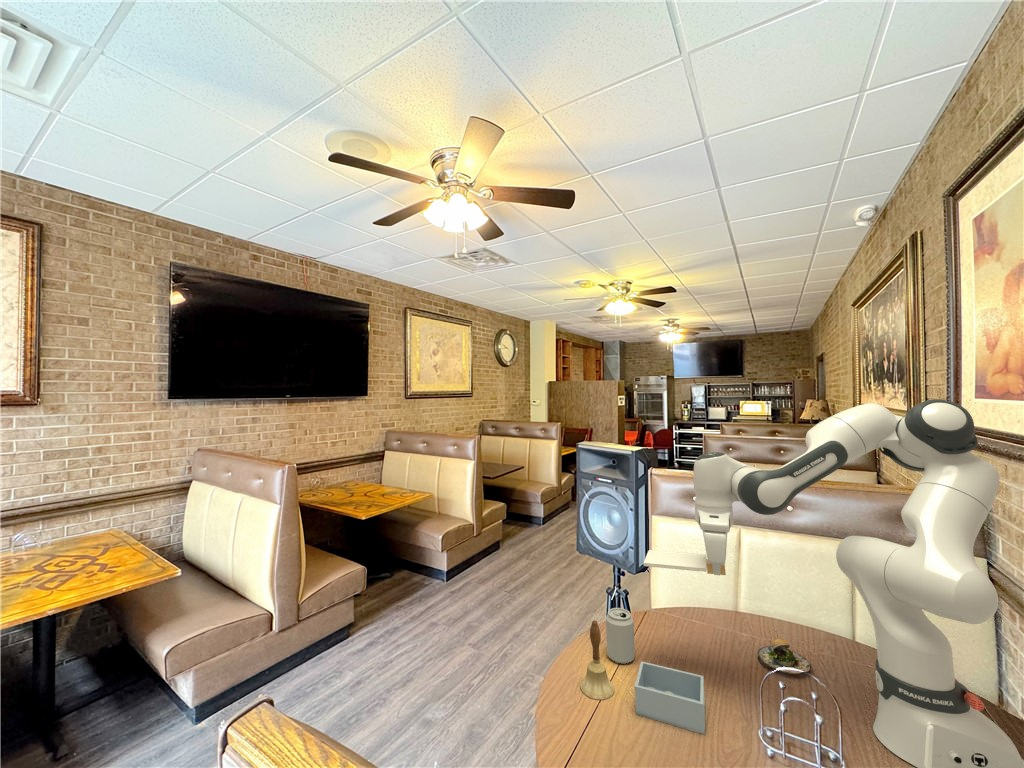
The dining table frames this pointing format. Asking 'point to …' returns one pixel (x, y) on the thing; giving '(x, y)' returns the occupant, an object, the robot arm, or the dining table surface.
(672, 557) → the lid
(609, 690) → the hand bell
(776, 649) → the burger
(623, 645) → the can
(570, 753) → the dining table surface
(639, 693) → the tub
